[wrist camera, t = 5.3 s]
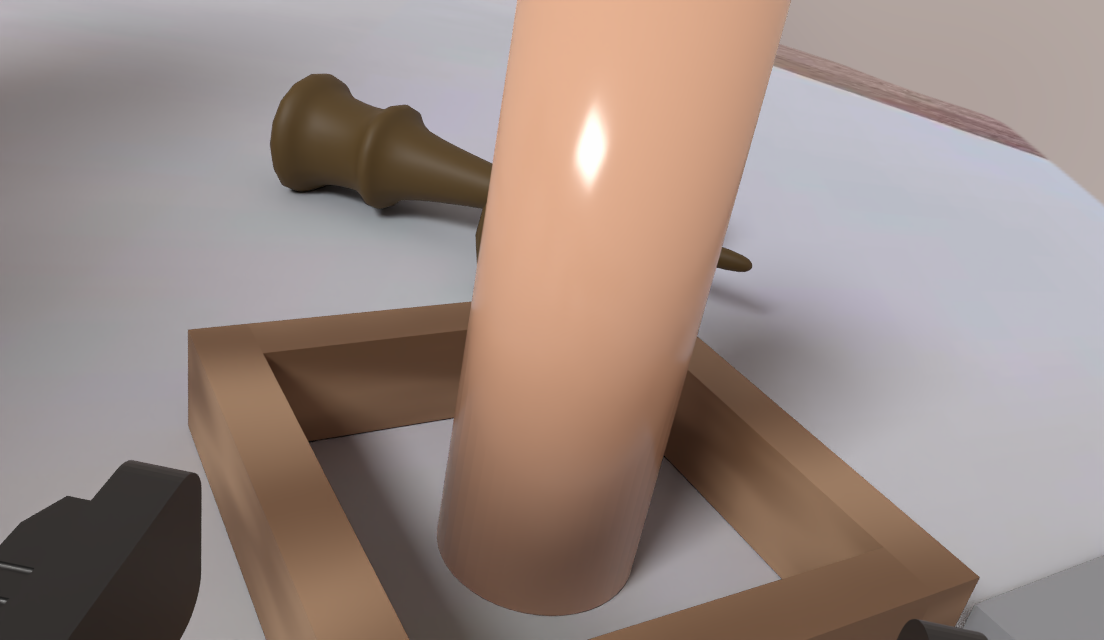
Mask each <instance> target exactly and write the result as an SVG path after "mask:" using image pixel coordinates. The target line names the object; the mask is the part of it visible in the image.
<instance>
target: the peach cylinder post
mask: <svg viewBox="0 0 1104 640" xmlns="http://www.w3.org/2000/svg"><path fill="white" fill-rule="evenodd" d="M790 3H791V0H517V6H516V13H515V19H514V26H513V33H512V39H511V46H510V52H509V59H508V65H507V72H506V79H505V85H504V92H503V98H502V105H501V112H500V118H499V125H498V131H497V138H496V145H495V151H494V158H493V164H492V171H491V178H490V184H489V191H488V197H487V204H486V211H485V217H484V224H483V230H482V237H481V243H480V250H479V257H478V263H477V270H476V276H475V283H474V290H473V296H472V303H471V309H470V316H469V323H468V329H467V336H466V342H465V349H464V356H463V362H462V369H461V375H460V382H459V389H458V395H457V402H456V408H455V415H454V422H453V428H452V435H451V441H450V448H449V454H448V461H447V468H446V474H445V481H444V487H443V494H442V501H441V507H440V514H439V520H438V527H437V542H438V548H439V551H440V554H441V556H442V558H443V560H444V562H445V564H446V566H447V567H448V568H449V570H450V571H451V572H452V574H453V575H454V576H455V577H456V578H457V579H458V580H459V581H460V582H461V583H462V584H463V585H465V586H466V587H467V588H468V589H470V590H471V591H472V592H474V593H475V594H477V595H479V596H480V597H482V598H484V599H486V600H488V601H490V602H492V603H494V604H496V605H499V606H502V607H504V608H507V609H510V610H514V611H518V612H522V613H528V614H534V615H546V616H557V615H569V614H576V613H580V612H584V611H587V610H591V609H593V608H595V607H598V606H600V605H602V604H604V603H605V602H607V601H609V600H610V599H611V598H613V597H614V596H615V595H616V594H618V592H619V591H620V590H621V589H622V588H623V587H624V585H625V584H626V582H627V580H628V578H629V576H630V573H631V570H632V566H633V563H634V559H635V556H636V552H637V548H638V545H639V541H640V538H641V534H642V531H643V527H644V524H645V520H646V516H647V513H648V509H649V506H650V502H651V499H652V495H653V491H654V488H655V484H656V481H657V477H658V474H659V470H660V466H661V463H662V459H663V456H664V452H665V449H666V445H667V442H668V438H669V434H670V431H671V427H672V424H673V420H674V417H675V413H676V409H677V406H678V402H679V399H680V395H681V392H682V388H683V384H684V381H685V377H686V374H687V370H688V367H689V363H690V360H691V356H692V352H693V349H694V345H695V342H696V338H697V335H698V331H699V327H700V324H701V320H702V317H703V313H704V310H705V306H706V302H707V299H708V295H709V292H710V288H711V285H712V281H713V278H714V274H715V270H716V267H717V263H718V260H719V256H720V253H721V249H722V245H723V242H724V238H725V235H726V231H727V228H728V224H729V220H730V217H731V213H732V210H733V206H734V203H735V199H736V195H737V192H738V188H739V185H740V181H741V178H742V174H743V171H744V167H745V163H746V160H747V156H748V153H749V149H750V146H751V142H752V138H753V135H754V131H755V128H756V124H757V121H758V117H759V113H760V110H761V106H762V103H763V99H764V96H765V92H766V89H767V85H768V81H769V78H770V74H771V71H772V67H773V64H774V60H775V56H776V53H777V49H778V46H779V42H780V38H781V35H782V31H783V28H784V24H785V21H786V17H787V14H788V10H789V6H790Z"/></svg>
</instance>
